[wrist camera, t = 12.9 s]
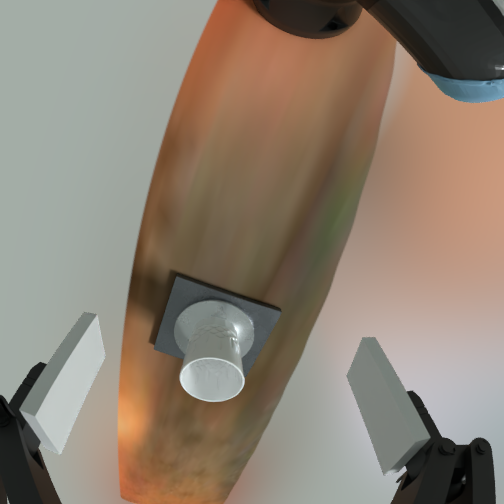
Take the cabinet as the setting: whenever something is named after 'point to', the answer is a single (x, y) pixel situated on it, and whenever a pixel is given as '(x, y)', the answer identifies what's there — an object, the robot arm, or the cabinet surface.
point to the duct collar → (209, 305)
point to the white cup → (213, 361)
